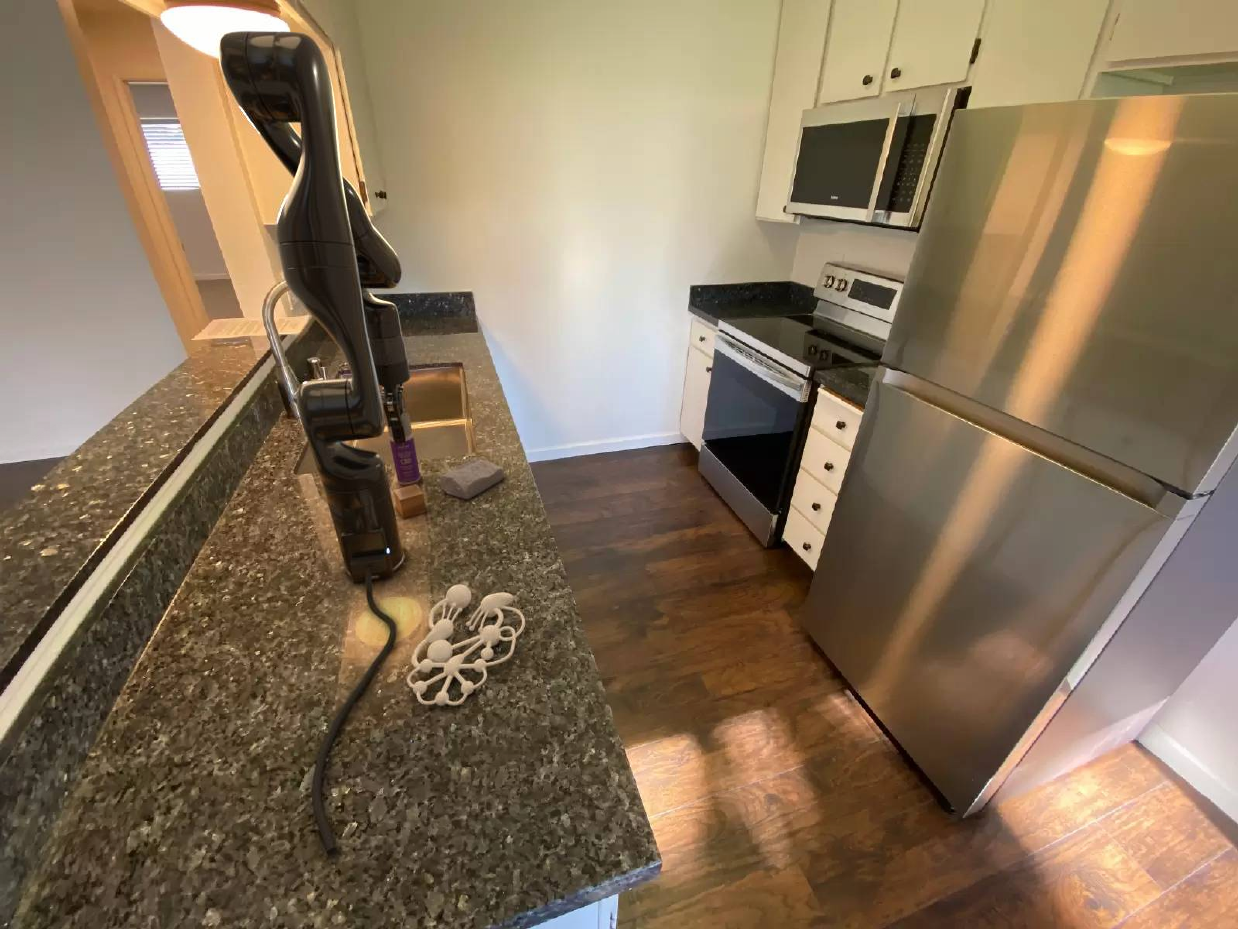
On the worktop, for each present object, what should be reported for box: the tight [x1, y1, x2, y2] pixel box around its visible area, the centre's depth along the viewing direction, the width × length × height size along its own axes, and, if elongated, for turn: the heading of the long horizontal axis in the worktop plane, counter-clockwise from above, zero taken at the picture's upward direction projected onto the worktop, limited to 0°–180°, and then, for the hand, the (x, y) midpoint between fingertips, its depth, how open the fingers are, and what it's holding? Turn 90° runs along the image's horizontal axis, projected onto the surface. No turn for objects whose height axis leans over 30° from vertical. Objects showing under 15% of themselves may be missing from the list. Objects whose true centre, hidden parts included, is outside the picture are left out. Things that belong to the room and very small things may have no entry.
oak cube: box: [392, 483, 427, 520], centre depth 104 cm, size 4×4×4 cm
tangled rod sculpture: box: [406, 583, 526, 707], centre depth 73 cm, size 19×14×4 cm
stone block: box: [439, 459, 505, 500], centre depth 114 cm, size 12×5×10 cm
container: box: [385, 411, 421, 485], centre depth 111 cm, size 5×5×15 cm
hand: (401, 436), depth 109 cm, fingers closed on container, 4 cm apart
